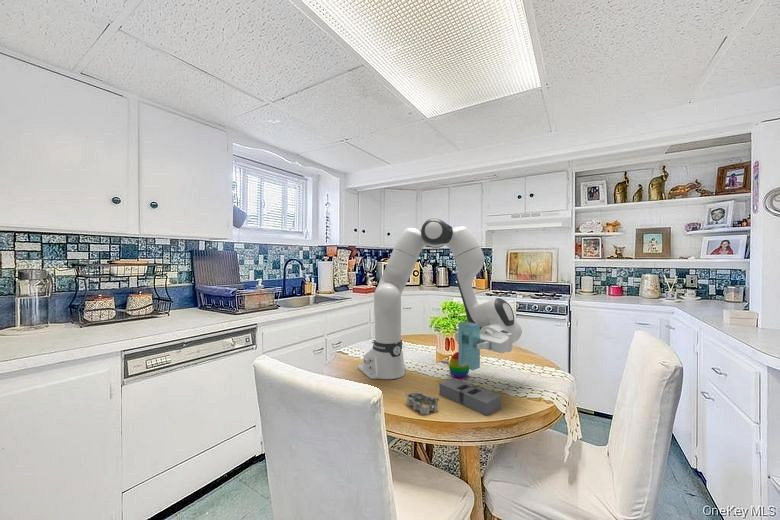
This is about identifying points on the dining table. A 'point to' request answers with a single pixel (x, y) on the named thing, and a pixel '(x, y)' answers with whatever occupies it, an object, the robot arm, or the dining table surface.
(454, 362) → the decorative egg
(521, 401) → the dining table surface
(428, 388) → the dining table surface
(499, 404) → the grey slotted block
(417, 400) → the egg carton
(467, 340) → the clip
